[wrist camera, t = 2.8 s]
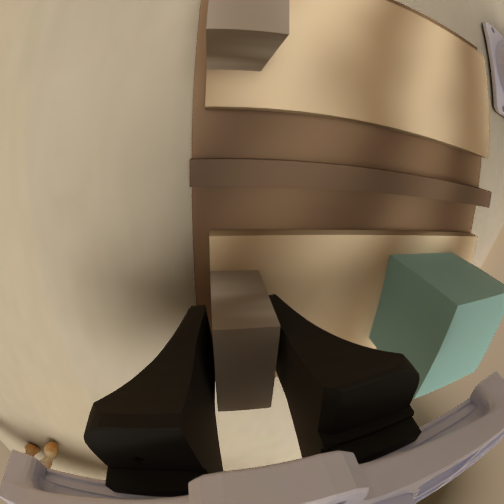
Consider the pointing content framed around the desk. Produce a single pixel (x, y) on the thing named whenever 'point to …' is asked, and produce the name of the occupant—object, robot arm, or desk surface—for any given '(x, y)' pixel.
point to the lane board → (317, 174)
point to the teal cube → (437, 315)
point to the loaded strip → (299, 293)
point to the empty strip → (348, 67)
